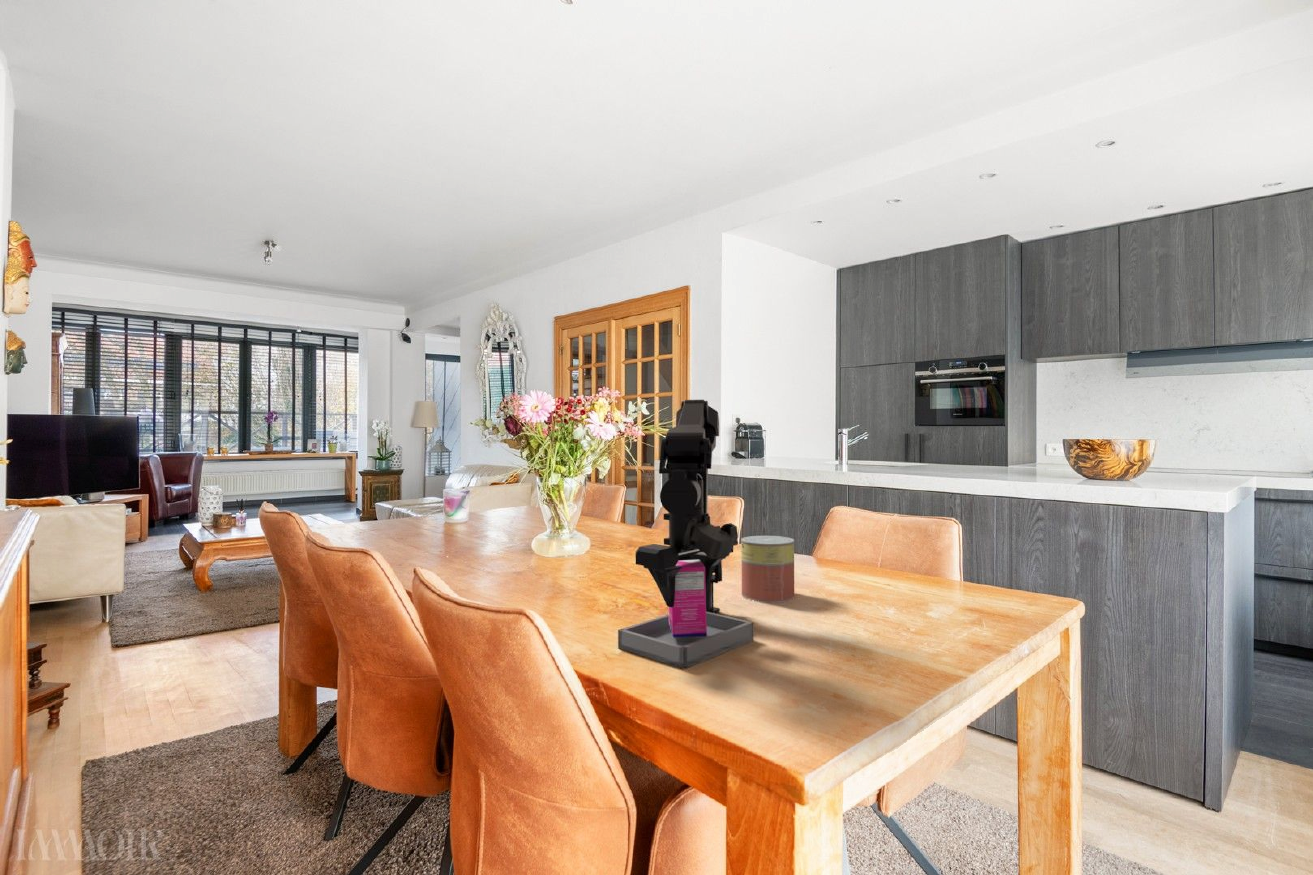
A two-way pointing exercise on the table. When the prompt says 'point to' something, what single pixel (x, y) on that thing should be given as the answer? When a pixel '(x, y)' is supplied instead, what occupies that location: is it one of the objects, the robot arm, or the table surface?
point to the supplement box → (689, 601)
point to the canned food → (767, 568)
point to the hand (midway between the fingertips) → (686, 601)
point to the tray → (685, 640)
